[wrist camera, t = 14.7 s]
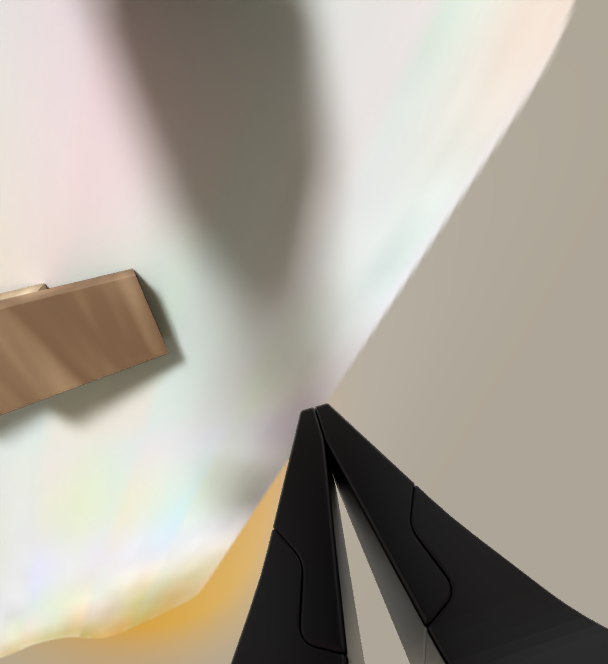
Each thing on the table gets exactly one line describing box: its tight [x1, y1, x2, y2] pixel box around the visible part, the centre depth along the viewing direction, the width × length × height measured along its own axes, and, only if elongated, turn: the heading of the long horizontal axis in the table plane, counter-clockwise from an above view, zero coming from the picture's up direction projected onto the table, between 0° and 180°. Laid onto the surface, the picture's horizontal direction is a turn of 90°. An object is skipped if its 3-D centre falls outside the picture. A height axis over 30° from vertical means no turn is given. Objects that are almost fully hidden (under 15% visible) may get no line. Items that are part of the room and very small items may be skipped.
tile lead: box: [0, 269, 168, 415], centre depth 15 cm, size 2×5×10 cm
